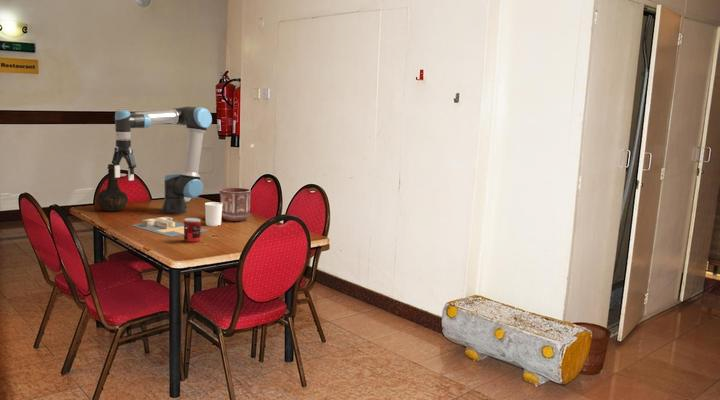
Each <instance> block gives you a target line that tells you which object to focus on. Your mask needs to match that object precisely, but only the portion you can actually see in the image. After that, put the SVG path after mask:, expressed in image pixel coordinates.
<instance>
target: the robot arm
mask: <svg viewBox="0 0 720 400" xmlns="http://www.w3.org/2000/svg"><path fill="white" fill-rule="evenodd" d="M212 117H213V116H212V114H211V112H210V110H209V109H207V108H205V107H200V106H197V107H196V106H182V107H176V108H175V107H174V108H170V109H169V110H156V111H155V110H154V111H138V112H131V111H130V110H123V109H121V110H116V111H115V114H114V123H115V125H114V126H115V127H114V128H115V134H114V135H115V139H116V140H115V147H114V151H113V156H112V160H111V164H114V168H115V178H117V179H118V178H121V164H120V163H121V161H122V159H125V161H126V164H127V165H128V168H127V172H128V173H127V174H128V175H127V178H128V181H131V182H132V181H135V168H137V163H136V160H135V156H134V150H133V149H130V147H132V141H131V138H132V137H131V135H132V132H131V130H132V129H147V128H150V127H151V125H164V124H165V125H167V124H171V125H174V126H175V125H179V126H180V125H181V126H186V128H185V129H186V130H187V132H188V133H187V134H188V135H187V141H186V142H187V143H186V149H185V155H184V157H185V159H184V164H183V171H182V172H181V173H176V174H175V173H174V174H166V175H165V176H164V181H163V183H164V199H163V203H162V206H161V212H162V213H164V214H183V213H187V212H188V206H187V202H186V203H185V199H184V197H187V198H191V199H196V198H198V197H199V196H200V195H201V194H202V192H203V190H204V184H203V182H202V180H201V175H200V174H199V168H200V163H201V161H200V160H201V155H202V146H203V139H204V134H205V133H207V129H208V128H209V127H210V126H211V124H212V123H213V118H212Z"/></svg>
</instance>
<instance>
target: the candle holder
mask: <svg viewBox="0 0 720 400" xmlns="http://www.w3.org/2000/svg"><path fill="white" fill-rule="evenodd" d="M222 205H223V204H222V203H221V202H218V201H217V202H216V201H212V202H211V201H209V202H205V203H204V210H205V211H204V215H205V225H206V226H208V227H217V226H218V225H219V226H221V225H222V219H223V217H222Z"/></svg>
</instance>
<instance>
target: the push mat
mask: <svg viewBox="0 0 720 400" xmlns="http://www.w3.org/2000/svg"><path fill="white" fill-rule="evenodd" d="M173 222H175V228H168V229H166V228H163V227H159V226H150V227H146V226H142V223H137V224H131V225H130V226H131V227H134V226H135V227H134V228H138V229H140V230H141V229H142V230H145V231H147V232H148V231H149V232H151V233H155V234H158V235H161V236H166V237H168V238H174V237H181V236H184V222H183V223H182V222H178V221H175V220H173ZM204 232H205V233H206V232H210V230H208V229H205V228H202V227H201V233H204Z"/></svg>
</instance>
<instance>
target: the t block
mask: <svg viewBox="0 0 720 400" xmlns="http://www.w3.org/2000/svg"><path fill="white" fill-rule="evenodd" d="M173 219H174V218H173V217H170V216H161V217H155V218H154V217H153V218H147V219H141V224H142V226H146V227H150V226H159V227H163V228H166V229H168V228H175V222H176V221H175V222H173V221H174V220H173Z"/></svg>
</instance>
